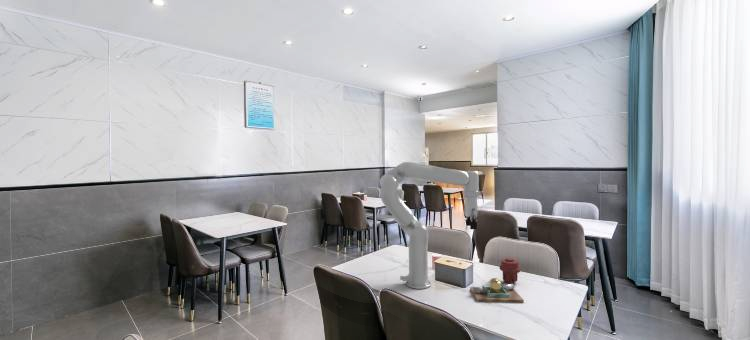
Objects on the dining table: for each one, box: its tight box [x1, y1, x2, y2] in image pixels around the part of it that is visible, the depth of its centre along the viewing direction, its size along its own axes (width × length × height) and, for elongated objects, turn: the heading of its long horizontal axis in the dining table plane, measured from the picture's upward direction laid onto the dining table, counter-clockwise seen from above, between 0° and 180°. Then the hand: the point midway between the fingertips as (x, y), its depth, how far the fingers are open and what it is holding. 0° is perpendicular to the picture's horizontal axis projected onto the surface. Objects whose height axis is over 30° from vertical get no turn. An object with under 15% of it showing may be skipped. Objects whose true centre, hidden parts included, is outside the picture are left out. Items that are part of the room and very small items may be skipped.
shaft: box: [501, 283, 515, 292], centre depth 152 cm, size 5×4×4 cm
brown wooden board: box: [470, 285, 525, 304], centre depth 149 cm, size 20×14×4 cm
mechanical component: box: [499, 257, 522, 285], centre depth 165 cm, size 12×10×10 cm
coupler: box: [489, 277, 502, 293], centre depth 149 cm, size 5×5×6 cm
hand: (471, 227), depth 167 cm, fingers open, 9 cm apart
